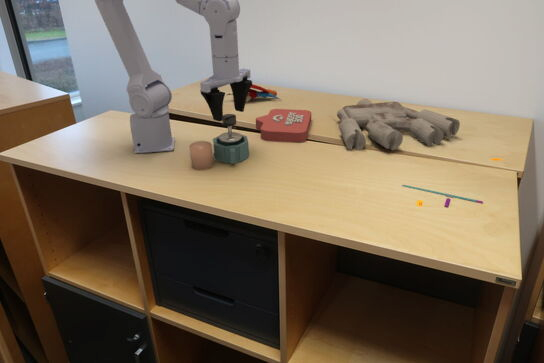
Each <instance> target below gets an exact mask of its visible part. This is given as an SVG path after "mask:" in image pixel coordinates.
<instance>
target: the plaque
mask: <svg viewBox="0 0 544 363" xmlns="http://www.w3.org/2000/svg"><path fill="white" fill-rule="evenodd" d="M311 123H312V111H310V110H306V109H291V108H289V109H288V108H273V109H270V111H269V112H268V114H265V115H262V116H257V117H256V118H255V129H257V130H259V131H260V139H261V140H262V141H267V142H279V143H280V142H281V143H283V142H284V143H299V144H300V143H305V142H306V141H307V140H308V139H307V138H308V134H309V132H308V131H310V128H309V127H311Z"/></svg>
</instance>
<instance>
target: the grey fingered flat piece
mask: <svg viewBox="0 0 544 363" xmlns="http://www.w3.org/2000/svg"><path fill="white" fill-rule="evenodd" d="M336 116H337V118H338V120H339V121H340V123H339V126H338V129H339V132H340V135H341V136H342V139H343V141H344V143H345V146H346V148H347V149H348V150H349V151H352V148H353V147H354V148H355V150H356V151H361V150H362V149H364V148H365V146H366V143H367V141H366V137H365V135H364V133H363V131H362V130H361V128H366V132H367V133H368V134H369V138H370V139H371V140H372V141H374V142H375V143H377V144H379V145H381V146H382V147H384V148H385V149H387V150H391V151H394V150H397V149H398V148H400V146H401V145H402V143H403V139H404V138H403V137H404V136H403V133H402V131H403V132H409V134H410V135H412V136H413V137H415V138H416V139H418V140H419V141H420V142H422V143H424V145H426V146H428V147H432V146H433V145H435V146H438V145H440V144H441V143H442V141H443V139H444V137H445V138H448V139H449V138H450V139H452V136H456V135H457V133H458V132H459V129H460V126H461V122H460V120H458V119H457V118H453V117H451V116H447V115H444V114H441V113H439V112H435V111H433V110H429V109H425V108H423V109H421V110H420V111H417V110H415V109H412V108H409V107H405V106H403V105H402V104H401V102H400V103H399V102H398V101H387V102H384V101H383V102H375V103H373V102H372V101H371V100H370V99H368V98H363V99H361V100H359V101H358V102H357V103H356V104H353V105H345V106H343V107H342V108H341V109H339V110H338V111H337V112H336Z"/></svg>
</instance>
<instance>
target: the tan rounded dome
mask: <svg viewBox="0 0 544 363" xmlns="http://www.w3.org/2000/svg"><path fill="white" fill-rule="evenodd" d="M189 153H190V161H191V167H192V169H194V170H197V171H204V170H208V169H211V168H213V167H214V151H213V145H212V142H209V141H206V140H198V141H194V142H192V143H191V144H190V145H189Z"/></svg>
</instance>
